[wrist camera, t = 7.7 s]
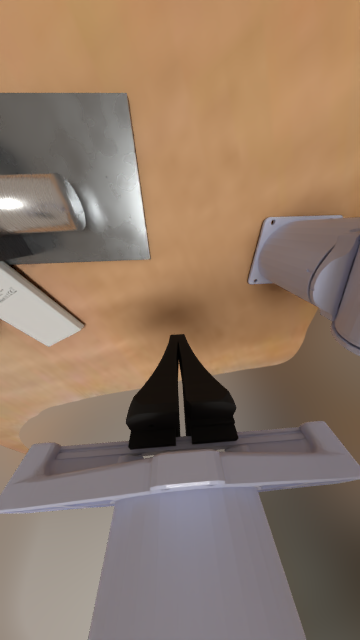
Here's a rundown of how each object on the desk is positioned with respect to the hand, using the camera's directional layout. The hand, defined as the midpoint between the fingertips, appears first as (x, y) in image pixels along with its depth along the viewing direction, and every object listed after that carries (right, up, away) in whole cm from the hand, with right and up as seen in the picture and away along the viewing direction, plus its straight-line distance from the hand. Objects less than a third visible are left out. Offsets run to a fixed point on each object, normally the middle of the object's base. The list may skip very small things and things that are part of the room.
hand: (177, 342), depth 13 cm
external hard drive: (-23, +4, +7) cm, 24 cm away
